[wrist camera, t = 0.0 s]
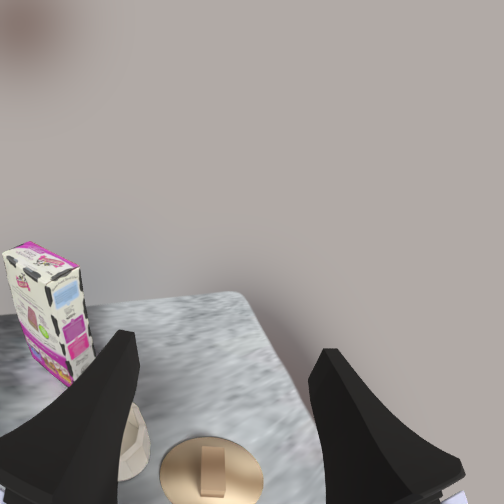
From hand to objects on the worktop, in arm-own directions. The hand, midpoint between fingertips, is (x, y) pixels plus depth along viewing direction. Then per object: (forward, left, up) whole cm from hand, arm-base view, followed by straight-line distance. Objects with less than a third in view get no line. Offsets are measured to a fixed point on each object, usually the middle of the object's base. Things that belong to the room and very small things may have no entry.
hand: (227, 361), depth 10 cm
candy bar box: (+15, +20, -22) cm, 33 cm away
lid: (+3, 0, -22) cm, 22 cm away
